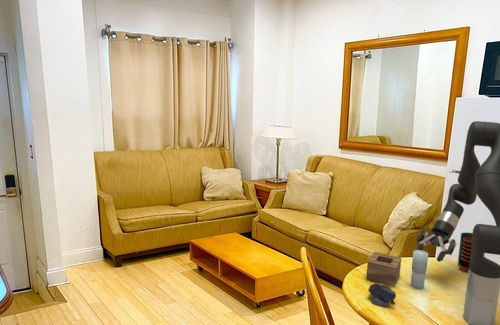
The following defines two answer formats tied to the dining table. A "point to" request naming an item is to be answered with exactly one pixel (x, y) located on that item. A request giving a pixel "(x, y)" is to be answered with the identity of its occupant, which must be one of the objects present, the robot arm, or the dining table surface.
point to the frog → (381, 294)
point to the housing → (383, 269)
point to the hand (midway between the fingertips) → (427, 256)
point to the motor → (465, 252)
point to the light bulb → (419, 268)
